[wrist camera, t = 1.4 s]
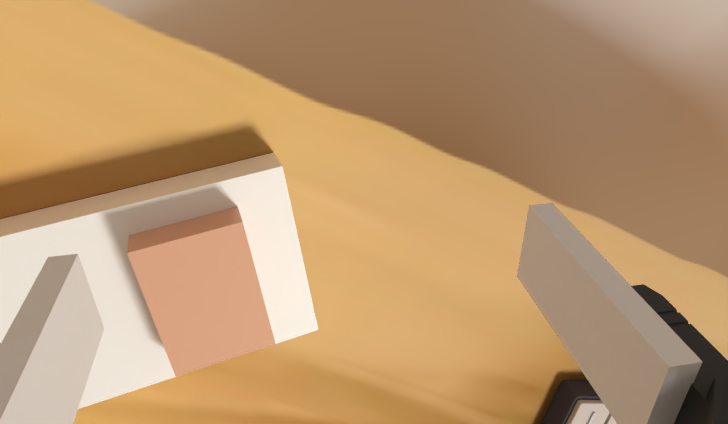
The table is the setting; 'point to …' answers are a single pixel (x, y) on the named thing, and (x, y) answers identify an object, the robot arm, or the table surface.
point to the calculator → (577, 405)
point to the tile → (201, 289)
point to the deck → (118, 280)
